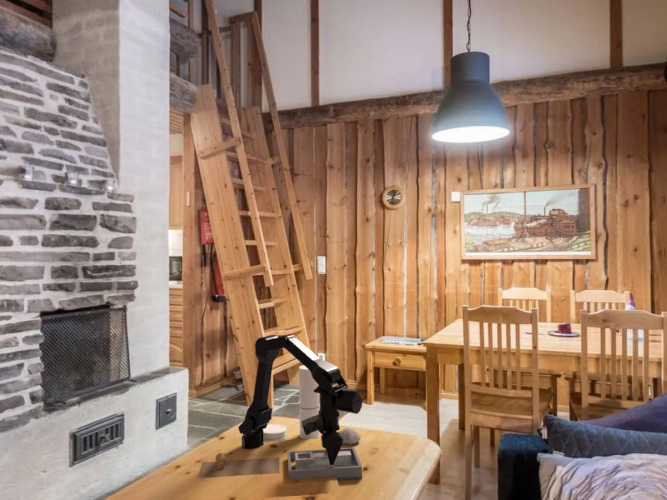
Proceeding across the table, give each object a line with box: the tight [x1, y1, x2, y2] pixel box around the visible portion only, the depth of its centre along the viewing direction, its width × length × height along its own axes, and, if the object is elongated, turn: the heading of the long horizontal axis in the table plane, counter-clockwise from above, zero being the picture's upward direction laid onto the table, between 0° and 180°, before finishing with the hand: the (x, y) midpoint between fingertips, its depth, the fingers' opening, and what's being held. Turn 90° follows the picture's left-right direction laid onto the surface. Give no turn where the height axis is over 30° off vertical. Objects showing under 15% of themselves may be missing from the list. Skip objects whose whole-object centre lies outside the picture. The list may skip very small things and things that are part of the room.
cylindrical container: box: [298, 364, 321, 440], centre depth 187 cm, size 7×7×25 cm
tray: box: [286, 447, 363, 481], centre depth 158 cm, size 22×15×4 cm
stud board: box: [197, 452, 280, 479], centre depth 158 cm, size 24×11×6 cm, turn 97°
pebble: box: [337, 427, 361, 446], centre depth 181 cm, size 9×8×5 cm
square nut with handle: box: [294, 451, 352, 470], centre depth 158 cm, size 17×5×4 cm, turn 97°
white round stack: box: [263, 423, 288, 442], centre depth 186 cm, size 10×10×4 cm
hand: (329, 458), depth 158 cm, fingers open, 9 cm apart
